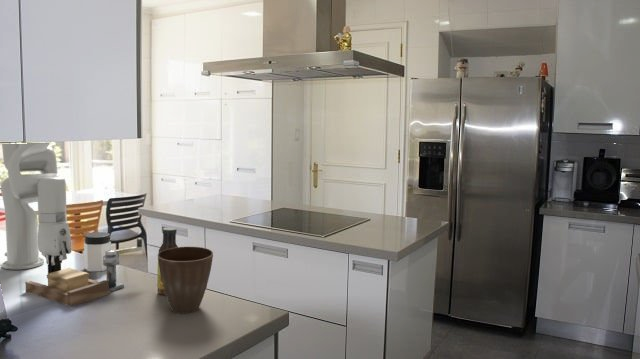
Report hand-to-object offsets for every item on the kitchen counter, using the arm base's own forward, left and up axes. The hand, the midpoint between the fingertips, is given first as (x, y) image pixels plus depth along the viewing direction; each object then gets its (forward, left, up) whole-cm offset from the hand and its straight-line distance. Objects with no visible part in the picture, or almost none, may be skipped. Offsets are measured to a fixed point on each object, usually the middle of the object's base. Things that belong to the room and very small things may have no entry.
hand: (54, 276), depth 150 cm
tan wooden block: (+6, 0, -4) cm, 8 cm away
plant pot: (+44, +10, -4) cm, 45 cm away
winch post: (+13, +10, -4) cm, 17 cm away
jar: (-8, +21, -4) cm, 23 cm away
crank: (+14, +14, +6) cm, 21 cm away
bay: (+5, 0, -4) cm, 6 cm away
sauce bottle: (+30, +17, -4) cm, 35 cm away
